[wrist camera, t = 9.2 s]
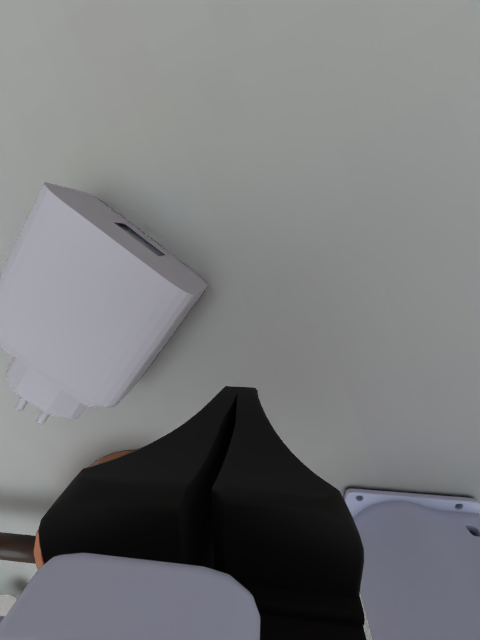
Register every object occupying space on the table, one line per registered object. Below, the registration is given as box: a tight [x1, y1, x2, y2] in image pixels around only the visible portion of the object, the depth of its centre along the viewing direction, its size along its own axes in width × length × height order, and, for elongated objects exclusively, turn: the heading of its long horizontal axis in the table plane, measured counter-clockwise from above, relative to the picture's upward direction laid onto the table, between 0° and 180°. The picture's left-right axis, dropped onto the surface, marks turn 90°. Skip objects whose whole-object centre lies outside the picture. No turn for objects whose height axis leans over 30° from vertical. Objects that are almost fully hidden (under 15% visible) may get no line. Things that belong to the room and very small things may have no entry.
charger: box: [0, 183, 207, 424], centre depth 18 cm, size 5×9×15 cm
